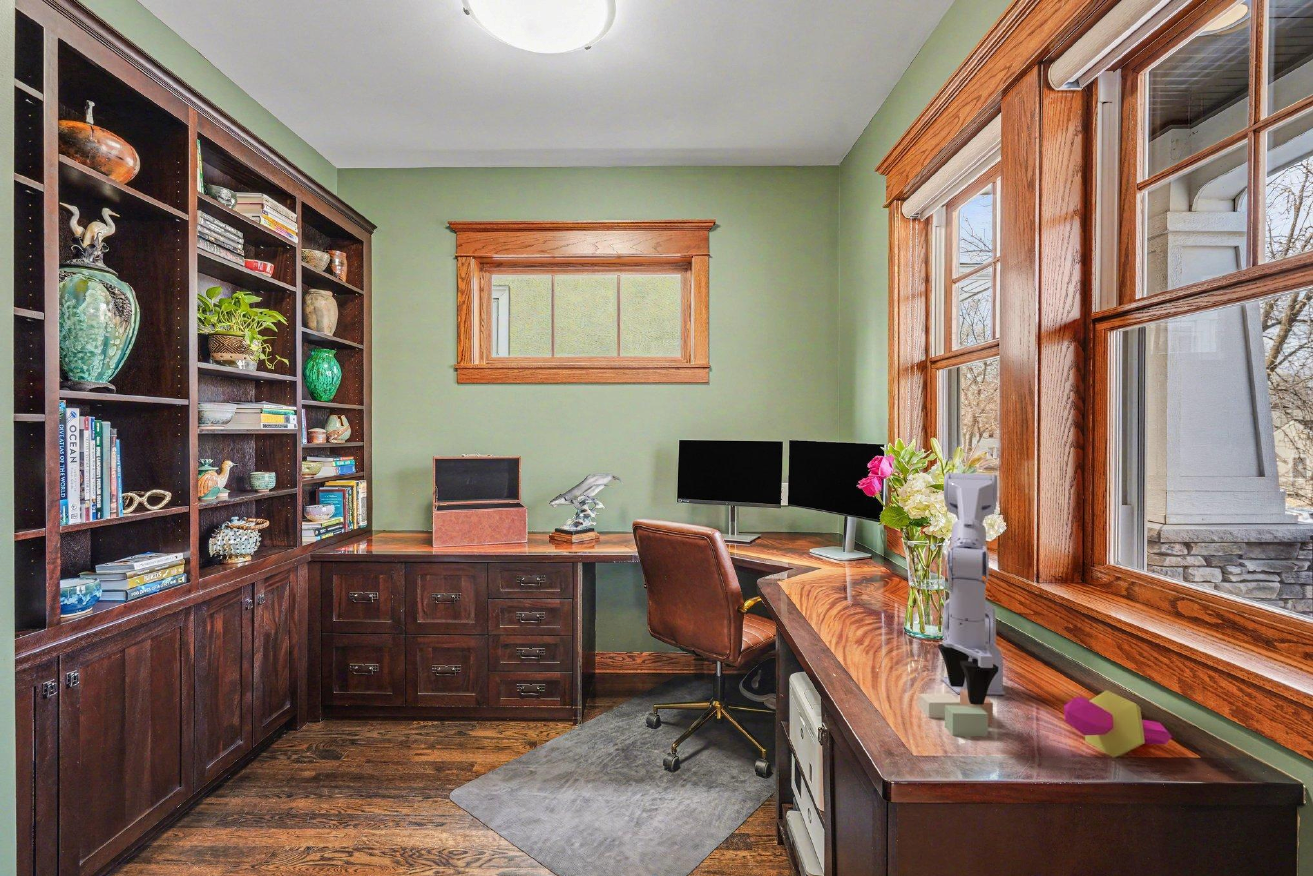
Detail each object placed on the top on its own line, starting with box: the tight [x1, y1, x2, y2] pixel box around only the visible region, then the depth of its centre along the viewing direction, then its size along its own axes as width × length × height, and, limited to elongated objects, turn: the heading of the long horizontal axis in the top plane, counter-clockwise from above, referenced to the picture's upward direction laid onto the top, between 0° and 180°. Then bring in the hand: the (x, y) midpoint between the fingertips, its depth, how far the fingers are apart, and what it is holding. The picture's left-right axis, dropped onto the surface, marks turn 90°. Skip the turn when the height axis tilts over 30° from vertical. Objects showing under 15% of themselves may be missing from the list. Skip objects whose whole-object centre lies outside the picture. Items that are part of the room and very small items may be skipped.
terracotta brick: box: [959, 689, 994, 726], centre depth 118 cm, size 6×3×4 cm, turn 178°
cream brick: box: [918, 693, 961, 719], centre depth 120 cm, size 6×4×3 cm, turn 92°
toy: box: [1063, 689, 1173, 758], centre depth 106 cm, size 10×18×10 cm, turn 99°
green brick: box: [944, 705, 989, 737], centre depth 112 cm, size 6×3×4 cm, turn 88°
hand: (966, 694), depth 112 cm, fingers open, 7 cm apart
